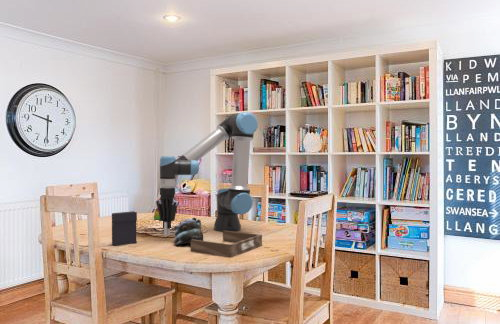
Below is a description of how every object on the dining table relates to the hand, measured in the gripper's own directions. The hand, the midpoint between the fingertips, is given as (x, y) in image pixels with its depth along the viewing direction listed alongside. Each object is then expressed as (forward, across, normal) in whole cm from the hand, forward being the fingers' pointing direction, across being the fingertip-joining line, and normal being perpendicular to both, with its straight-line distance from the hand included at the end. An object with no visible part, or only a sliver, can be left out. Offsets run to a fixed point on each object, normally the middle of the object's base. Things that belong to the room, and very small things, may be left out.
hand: (167, 234), depth 218 cm
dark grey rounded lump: (+3, +14, -2) cm, 15 cm away
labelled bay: (+2, +35, 0) cm, 35 cm away
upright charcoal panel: (+3, -11, -18) cm, 21 cm away
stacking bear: (+3, -21, +20) cm, 29 cm away
